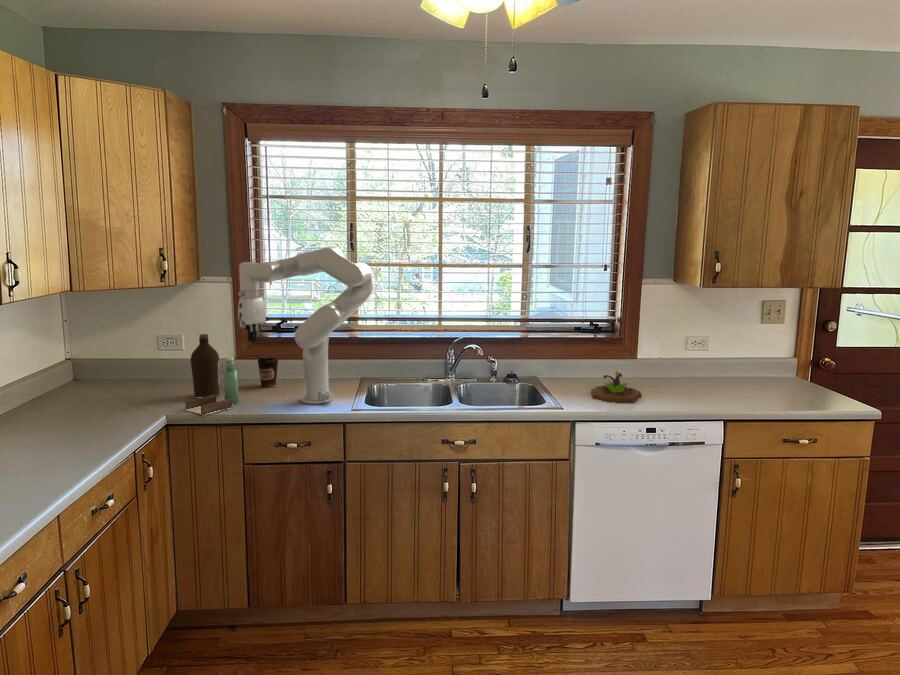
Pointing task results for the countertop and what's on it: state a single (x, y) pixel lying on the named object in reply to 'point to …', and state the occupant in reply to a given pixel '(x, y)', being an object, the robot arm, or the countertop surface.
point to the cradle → (209, 404)
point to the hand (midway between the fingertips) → (252, 341)
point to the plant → (615, 391)
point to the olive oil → (205, 369)
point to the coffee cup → (268, 370)
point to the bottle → (231, 381)
